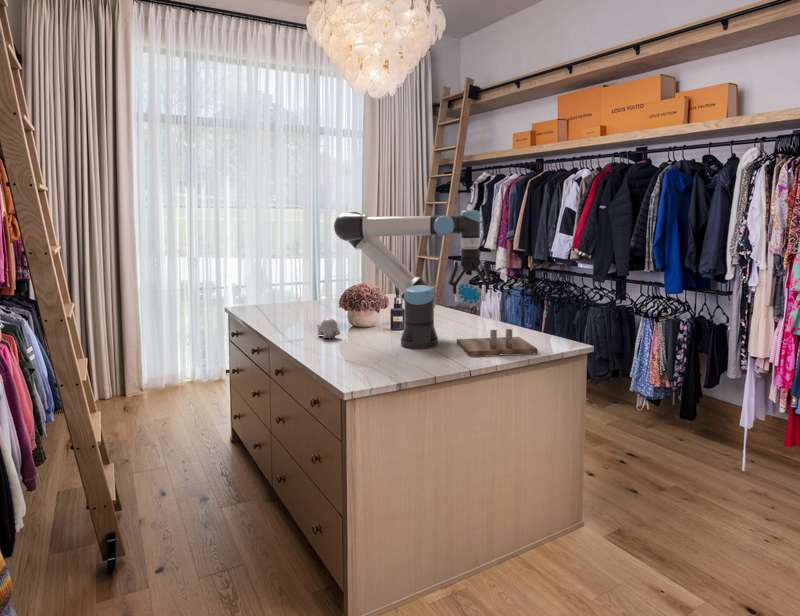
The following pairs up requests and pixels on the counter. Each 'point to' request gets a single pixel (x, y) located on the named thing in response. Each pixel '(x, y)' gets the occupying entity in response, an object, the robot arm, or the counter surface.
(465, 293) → the gear
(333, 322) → the chubby cartoon animal
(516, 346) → the dowel plate
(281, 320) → the counter surface
